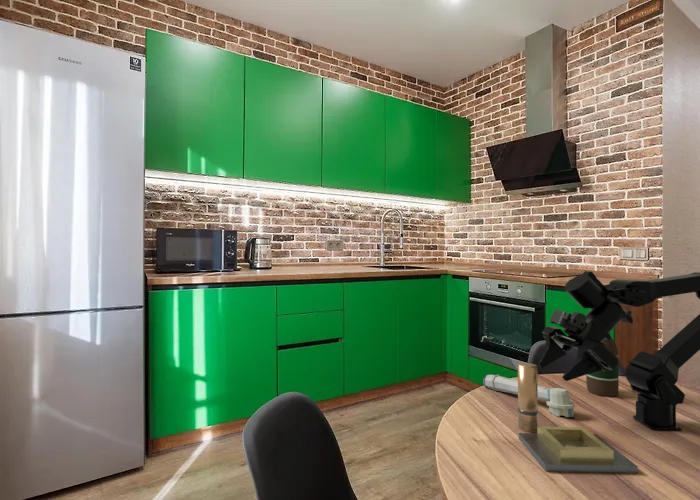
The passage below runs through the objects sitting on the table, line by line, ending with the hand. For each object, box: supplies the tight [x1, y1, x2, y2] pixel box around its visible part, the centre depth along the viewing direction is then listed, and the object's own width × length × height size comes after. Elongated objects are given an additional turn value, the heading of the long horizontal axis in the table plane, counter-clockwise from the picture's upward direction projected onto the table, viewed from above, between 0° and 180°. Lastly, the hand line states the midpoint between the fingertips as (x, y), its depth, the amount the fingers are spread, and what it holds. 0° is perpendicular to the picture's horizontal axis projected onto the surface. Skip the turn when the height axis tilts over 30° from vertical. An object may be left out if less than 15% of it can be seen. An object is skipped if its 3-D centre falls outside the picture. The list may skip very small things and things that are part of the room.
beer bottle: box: [585, 332, 620, 398], centre depth 107 cm, size 8×8×24 cm
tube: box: [517, 362, 539, 433], centre depth 85 cm, size 4×4×14 cm
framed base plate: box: [518, 426, 639, 474], centre depth 74 cm, size 16×12×3 cm
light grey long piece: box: [482, 374, 576, 418], centre depth 101 cm, size 5×7×25 cm
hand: (551, 372), depth 85 cm, fingers open, 9 cm apart
